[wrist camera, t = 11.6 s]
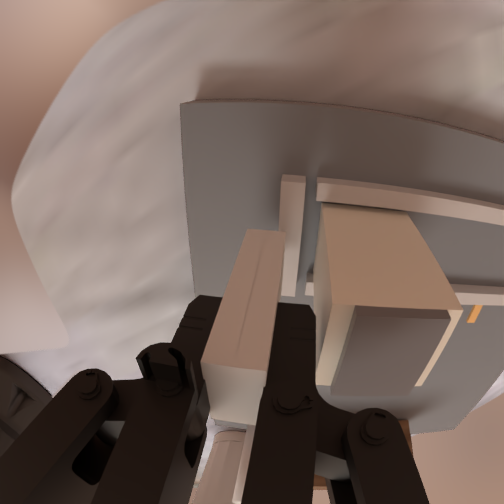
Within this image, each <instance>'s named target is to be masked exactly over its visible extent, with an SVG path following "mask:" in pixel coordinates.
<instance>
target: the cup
mask: <svg viewBox="0 0 504 504" xmlns="http://www.w3.org/2000/svg"><path fill="white" fill-rule="evenodd" d="M245 434H246V432H240V431H224V432H220V433H218V434H216V435H215V438H214V442H213V446H212V450H211V452H210V455H209V458H208V461H207V464H206V466H205V469H204V472H203V475H202V478H201V480H200V483H199V486H198V489H197V492H196V494H195V497H194V500H193V501H192V504H235V503H233V502H232V499H233V494H234V489H235V485H236V480H237V475H238V470H239V465H240V460H241V455H242V450H243V445H244V440H245Z"/></svg>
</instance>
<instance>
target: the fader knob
mask: <svg viewBox="0 0 504 504" xmlns="http://www.w3.org/2000/svg"><path fill="white" fill-rule="evenodd" d="M313 287H314V314H315V315H316V380H315V381H316V385H326V386H330V389H331V395H334V396H408V395H409V394H410V392H411V391H412V389H413V388H414V386H422V384H423V382H424V381H425V379H426V378H427V376H428V374H429V373H430V371H431V370H432V368H433V366H434V365H435V363H436V361H437V359H438V358H439V356H440V354H441V352H442V351H443V349H444V347H445V345H446V344H447V342H448V340H449V338H450V336H451V334H452V332H453V330H454V328H455V327H456V325H457V323H458V321H459V319H460V317H461V314H462V312H463V308H462V306H461V304H460V302H459V300H458V298H457V296H456V294H455V293H454V291H453V289H452V287H451V285H450V283H449V281H448V280H447V278H446V276H445V274H444V272H443V271H442V269H441V267H440V265H439V264H438V262H437V260H436V259H435V257H434V255H433V254H432V252H431V250H430V249H429V247H428V245H427V244H426V242H425V240H424V239H423V237H422V236H421V234H420V232H419V231H418V229H417V228H416V226H415V225H414V223H413V222H412V220H411V219H410V217H409V216H408V214H407V213H406V212H403V211H395V210H387V209H378V208H369V207H360V206H351V205H341V204H331V203H321V212H320V221H319V230H318V238H317V246H316V253H315V261H314V268H313Z"/></svg>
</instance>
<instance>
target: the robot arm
mask: <svg viewBox="0 0 504 504" xmlns="http://www.w3.org/2000/svg"><path fill="white" fill-rule="evenodd" d="M285 237H286V232H283V231H271V230H258V229H247V231H246V234H245V237H244V240H243V242H242V245H241V248H240V251H239V254H238V256H237V259H236V262H235V265H234V268H233V270H232V273H231V276H230V279H229V282H228V284H227V287H226V290H225V293H224V296H223V297H215V296H207V295H199V296H198V297H196V298H195V299H194V300H193V301H192V302H191V303H190V304H189V305H188V307H187V309H186V311H185V314H184V317H183V318H182V320H181V322H180V324H179V328H178V329H177V331H176V333H175V335H174V338H173V340H172V342H171V343H157V344H153V345H150V346H149V347H147V348H145V349H144V350H142V351H141V352H140V354H139V355H138V356H137V357H136V360H137V362H138V365H139V368H140V370H141V373H142V375H143V378H141V379H134V380H112V379H111V377H110V376H109V375H108V374H107V373H106V372H105V371H102V370H99V369H86V370H83V371H81V372H79V373H78V374H76V375H75V376H74V377H72V378H71V380H70V381H69V382H68V383H67V384H66V385H65V386H64V387H63V388H62V389H61V390H60V391H59V392H58V393H57V395H56V396H55V397H54V398H52V397H51V396H50V395H49V393H48V392H47V391H46V390H44V389H43V388H42V387H41V386H40V385H39V384H38V383H37V382H36V381H35V380H33V379H32V378H31V377H30V376H29V375H28V374H26V373H25V372H24V371H22V370H21V369H20V368H18V367H17V366H16V365H14V364H13V363H11V362H10V361H8V360H6V359H4V358H2V357H0V504H188V503H189V499H190V496H191V492H192V488H193V485H194V481H195V477H196V474H197V470H198V466H199V463H200V459H201V455H202V452H203V448H204V444H205V441H206V437H207V427H206V423H207V419H208V416H209V412H210V416H211V419H216V420H222V421H229V422H235V423H242V424H249V425H256V426H255V432H254V437H253V443H252V448H251V454H250V459H249V464H248V470H247V475H246V480H245V485H244V490H243V495H242V500H241V504H312V497H313V486H314V474H316V475H319V476H322V477H325V481H326V486H327V490H328V495H329V499H330V503H331V504H429V501H428V498H427V495H426V492H425V489H424V486H423V483H422V481H421V478H420V475H419V472H418V469H417V467H416V464H415V461H414V458H413V456H412V453H411V450H410V448H409V445H408V442H407V440H406V437H405V435H404V432H403V430H402V427H401V425H400V423H399V422H398V420H397V418H396V417H395V416H394V415H392V414H391V413H390V412H388V411H387V410H383V409H380V408H366V409H364V410H361V411H359V412H357V413H356V414H354V413H351V412H348V411H345V410H342V409H339V408H336V407H334V406H332V405H330V404H329V403H327V402H326V401H325V400H324V399H323V398H322V397H321V396H320V394H319V392H318V390H317V388H316V381H315V380H316V315H315V314H314V312H313V310H312V308H311V307H310V305H307V304H295V303H284V302H280V299H281V291H282V279H283V266H284V252H285Z"/></svg>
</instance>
